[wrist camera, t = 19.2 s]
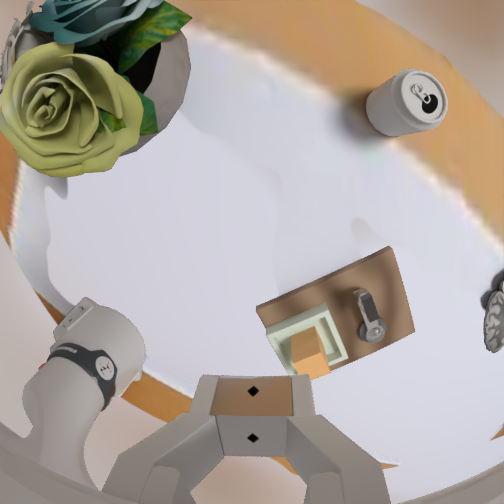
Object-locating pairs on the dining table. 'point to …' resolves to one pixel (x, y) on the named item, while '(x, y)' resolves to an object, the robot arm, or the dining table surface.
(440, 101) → the can
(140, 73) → the flower arrangement
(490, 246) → the dining table surface
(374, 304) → the crank
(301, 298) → the mechanism board
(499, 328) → the brain slice
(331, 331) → the tray
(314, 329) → the block
